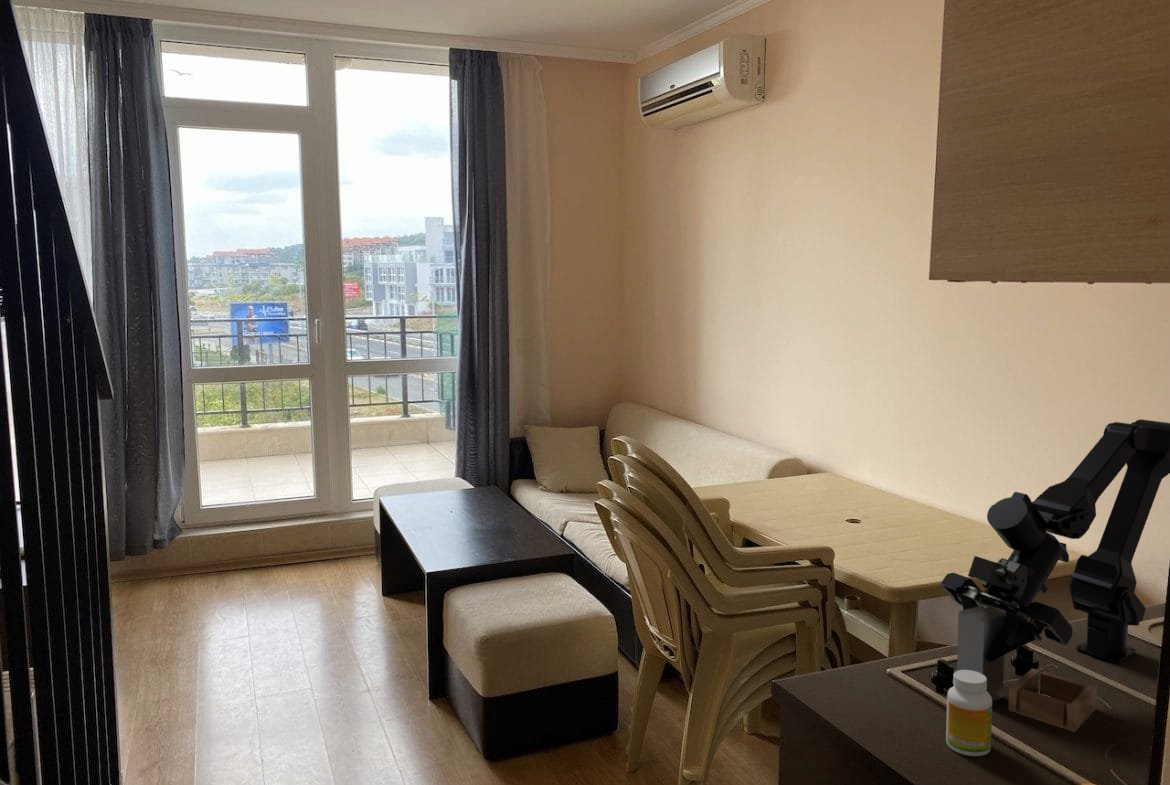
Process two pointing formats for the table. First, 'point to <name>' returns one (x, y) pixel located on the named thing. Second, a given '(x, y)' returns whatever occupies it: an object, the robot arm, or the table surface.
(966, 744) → the supplement bottle
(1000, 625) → the steel square block
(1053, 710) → the wooden square frame
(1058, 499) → the robot arm
